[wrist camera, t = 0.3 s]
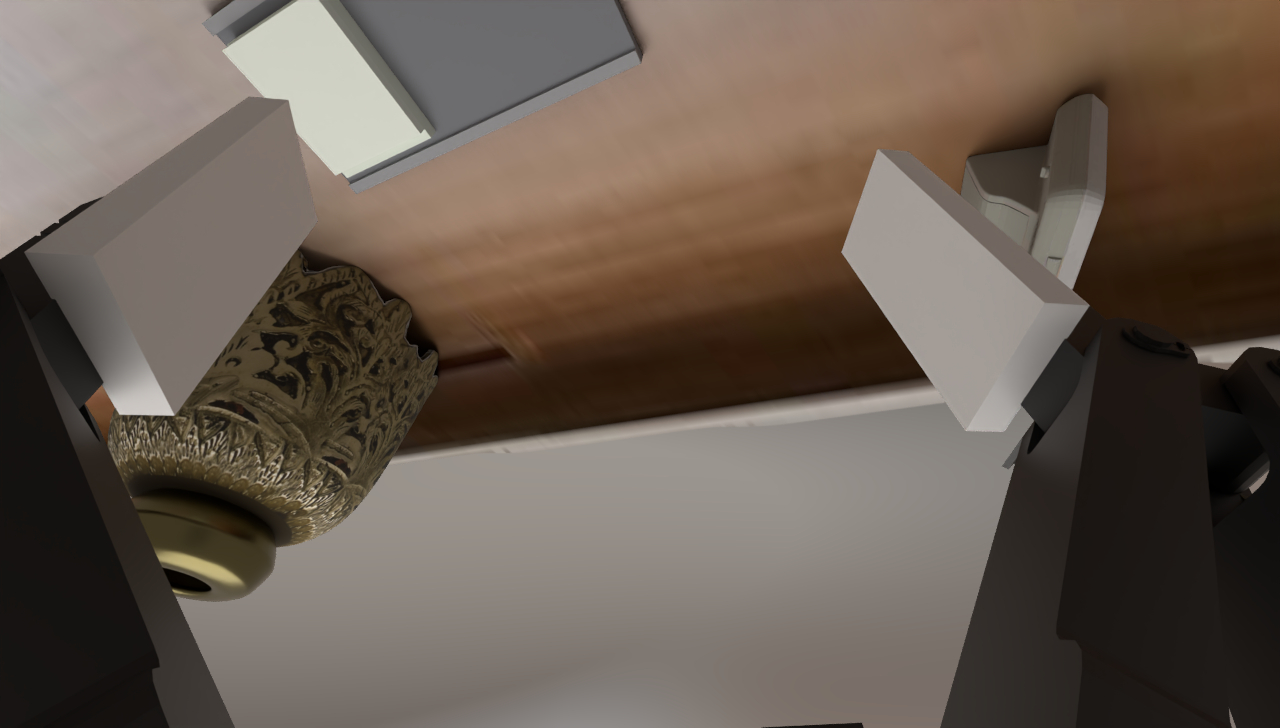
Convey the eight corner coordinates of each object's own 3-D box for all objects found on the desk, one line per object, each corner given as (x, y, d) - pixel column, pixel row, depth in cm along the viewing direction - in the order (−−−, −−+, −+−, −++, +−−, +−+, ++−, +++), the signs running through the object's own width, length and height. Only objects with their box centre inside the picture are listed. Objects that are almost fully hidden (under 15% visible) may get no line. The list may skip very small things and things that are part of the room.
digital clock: (1031, 293, 48) (1082, 398, 41) (913, 288, 49) (943, 391, 42) (1154, 86, 36) (1257, 185, 29) (994, 85, 37) (1056, 180, 30)
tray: (525, -206, 29) (520, -203, 28) (642, 55, 37) (641, 63, 37) (211, 16, 38) (201, 23, 37) (362, 186, 47) (356, 194, 46)
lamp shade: (139, 257, 55) (-115, 505, 38) (358, 225, 50) (172, 496, 33) (300, 413, 72) (170, 633, 55) (477, 401, 66) (392, 640, 50)
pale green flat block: (323, -21, 35) (310, -11, 34) (436, 130, 42) (427, 143, 40) (235, 38, 38) (220, 49, 37) (352, 170, 45) (343, 183, 44)
